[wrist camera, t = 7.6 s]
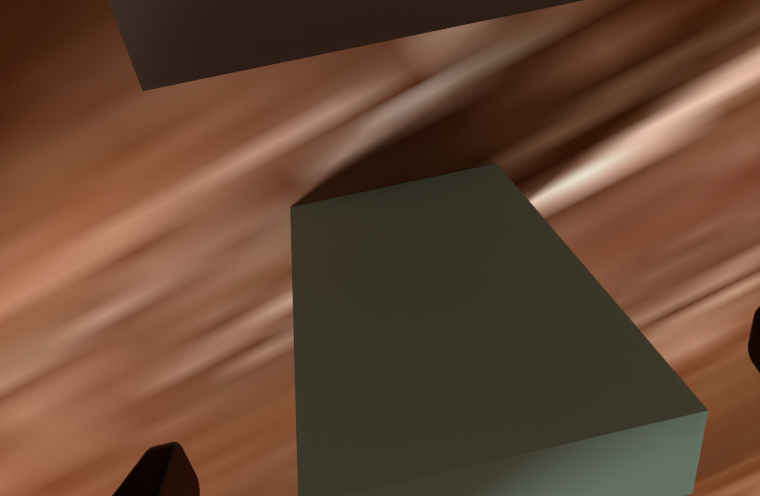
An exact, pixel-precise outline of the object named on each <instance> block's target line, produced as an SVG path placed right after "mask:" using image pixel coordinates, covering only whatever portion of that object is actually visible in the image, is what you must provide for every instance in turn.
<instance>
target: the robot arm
mask: <svg viewBox="0 0 760 496" xmlns="http://www.w3.org/2000/svg"><path fill="white" fill-rule="evenodd" d="M748 353H749V356H750V358H751V361H752V362H753V364H754V365H755V367H756V368H757V370H758V371H759V373H760V307H758V309H757V310H756V311H755V314H754V318H753V323H752V327H751V332H750V337H749V341H748ZM112 496H200V489H199V482H198V478H197V475H196V473H195V471H194V469H193V467H192V465H191V463H190V462H189V460H188V458H187V456H186V454H185V452H184V450H183V448H182V446H181V445H180V444H179V443H177V442H170V443H166V444H161V445H157V446H153V447H151V448H149V449H148V450H147V451H146V452H145V453H144V455H143V456H142V457H141V459H140V460H139V461H138V462H137V464H136V465H135V466H134V468H133V469H132V470H131V472H130V473H129V474H128V476H127V477H126V478H125V480H124V481H123V482H122V484H121V485H120V486H119V487H118V489H117V490H116V491H115V493H114V494H113V495H112Z"/></svg>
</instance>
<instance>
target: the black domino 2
mask: <svg viewBox="0 0 760 496" xmlns="http://www.w3.org/2000/svg"><path fill="white" fill-rule="evenodd" d="M108 1H109V4H110V7H111V9H112V12H113V14H114V17H115V20H116V22H117V25H118V28H119V30H120V33H121V35H122V38H123V41H124V43H125V46H126V48H127V51H128V54H129V56H130V59H131V62H132V64H133V67H134V69H135V72H136V75H137V77H138V80H139V82H140V85H141V88H142V90H143V91H145V90H150V89H155V88H160V87H165V86H170V85H175V84H179V83H184V82H189V81H194V80H199V79H204V78H209V77H213V76H218V75H223V74H228V73H233V72H238V71H242V70H247V69H252V68H257V67H262V66H267V65H272V64H276V63H281V62H286V61H291V60H296V59H301V58H306V57H310V56H315V55H320V54H325V53H330V52H335V51H339V50H344V49H349V48H354V47H359V46H364V45H369V44H373V43H378V42H383V41H388V40H393V39H398V38H403V37H407V36H412V35H417V34H422V33H427V32H432V31H437V30H441V29H446V28H451V27H456V26H461V25H466V24H470V23H475V22H480V21H485V20H490V19H495V18H500V17H504V16H509V15H514V14H519V13H524V12H529V11H534V10H538V9H543V8H548V7H553V6H558V5H563V4H567V3H572V2H577V1H582V0H108Z"/></svg>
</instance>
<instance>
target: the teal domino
mask: <svg viewBox="0 0 760 496" xmlns="http://www.w3.org/2000/svg"><path fill="white" fill-rule="evenodd" d="M290 214H291V250H292V287H293V324H294V361H295V397H296V434H297V471H298V496H685V495H689V494H693V489H694V483H695V478H696V473H697V467H698V462H699V457H700V451H701V446H702V441H703V435H704V430H705V425H706V419H707V414H708V410H707V409H706V407H705V406H704V405H703V404H702V403H701V402H700V400H699V399H698V398H697V397H696V396H695V395H694V393H693V392H692V391H691V390H690V389H689V388H688V386H687V385H686V384H685V383H684V382H683V380H682V379H681V378H680V377H679V376H678V375H677V373H676V372H675V371H674V370H673V369H672V368H671V366H670V365H669V364H668V363H667V362H666V361H665V359H664V358H663V357H662V356H661V355H660V354H659V352H658V351H657V350H656V349H655V348H654V347H653V345H652V344H651V343H650V342H649V341H648V340H647V338H646V337H645V336H644V335H643V334H642V333H641V331H640V330H639V329H638V328H637V327H636V326H635V324H634V323H633V322H632V321H631V320H630V319H629V317H628V316H627V315H626V314H625V313H624V312H623V310H622V309H621V308H620V307H619V306H618V305H617V303H616V302H615V301H614V300H613V299H612V297H611V296H610V295H609V294H608V293H607V292H606V290H605V289H604V288H603V287H602V286H601V285H600V283H599V282H598V281H597V280H596V279H595V278H594V276H593V275H592V274H591V273H590V272H589V271H588V269H587V268H586V267H585V266H584V265H583V264H582V262H581V261H580V260H579V259H578V258H577V257H576V255H575V254H574V253H573V252H572V251H571V250H570V248H569V247H568V246H567V245H566V244H565V243H564V241H563V240H562V239H561V238H560V237H559V236H558V234H557V233H556V232H555V231H554V230H553V229H552V227H551V226H550V225H549V224H548V223H547V222H546V220H545V219H544V218H543V217H542V216H541V214H540V213H539V212H538V211H537V210H536V209H535V207H534V206H533V205H532V204H531V203H530V202H529V200H528V199H527V198H526V197H525V196H524V195H523V193H522V192H521V191H520V190H519V189H518V188H517V186H516V185H515V184H514V183H513V182H512V181H511V179H510V178H509V177H508V176H507V175H506V174H505V172H504V171H503V170H502V169H501V168H500V167H499V165H498V164H497V163H495V164H491V165H486V166H481V167H477V168H472V169H467V170H463V171H458V172H453V173H448V174H444V175H439V176H434V177H430V178H425V179H420V180H416V181H411V182H406V183H401V184H397V185H392V186H387V187H383V188H378V189H373V190H369V191H364V192H359V193H354V194H350V195H345V196H340V197H336V198H331V199H326V200H322V201H317V202H312V203H307V204H303V205H298V206H293V207H290Z"/></svg>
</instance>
